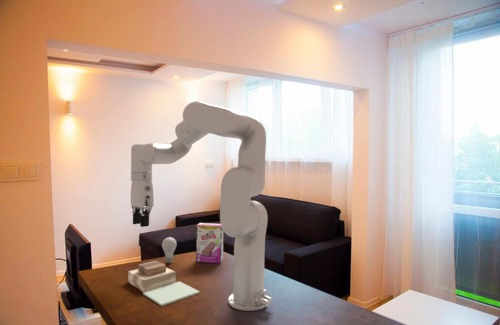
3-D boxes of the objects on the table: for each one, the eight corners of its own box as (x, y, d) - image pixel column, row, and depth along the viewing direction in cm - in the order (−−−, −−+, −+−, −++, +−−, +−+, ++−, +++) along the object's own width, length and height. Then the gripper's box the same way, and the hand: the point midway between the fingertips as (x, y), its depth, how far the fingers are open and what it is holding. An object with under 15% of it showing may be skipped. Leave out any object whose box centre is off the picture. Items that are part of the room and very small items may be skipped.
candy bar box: (195, 262, 138) (196, 224, 138) (198, 259, 143) (199, 222, 143) (221, 264, 137) (221, 225, 137) (223, 260, 142) (223, 223, 142)
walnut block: (165, 271, 116) (165, 265, 116) (147, 276, 111) (147, 269, 111) (156, 266, 120) (156, 260, 120) (138, 271, 115) (138, 264, 115)
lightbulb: (161, 265, 134) (162, 239, 134) (161, 261, 140) (161, 236, 140) (176, 264, 135) (177, 238, 135) (176, 260, 141) (176, 235, 141)
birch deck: (175, 282, 116) (175, 271, 116) (144, 292, 107) (144, 280, 107) (158, 274, 124) (158, 263, 124) (128, 282, 116) (128, 271, 115)
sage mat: (199, 293, 107) (199, 291, 107) (161, 306, 97) (161, 304, 97) (179, 283, 116) (179, 281, 116) (142, 294, 106) (142, 292, 106)
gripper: (162, 177, 118) (161, 227, 118) (140, 175, 130) (139, 220, 130) (142, 178, 113) (142, 230, 113) (121, 176, 125) (121, 222, 125)
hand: (140, 224), depth 122 cm, fingers open, 5 cm apart
